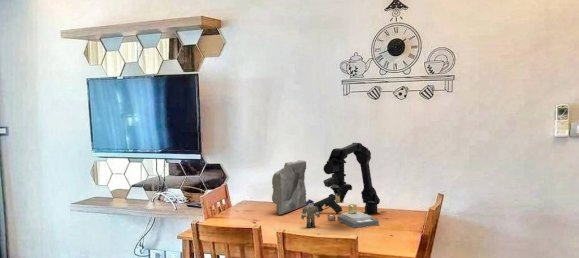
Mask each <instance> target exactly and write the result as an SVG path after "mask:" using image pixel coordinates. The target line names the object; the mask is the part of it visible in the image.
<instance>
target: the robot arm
mask: <svg viewBox="0 0 579 258" xmlns="http://www.w3.org/2000/svg"><path fill="white" fill-rule="evenodd" d="M350 154H353V155H354V156H355V158H356V162H358V164H359V165H360V170H361V172H360V173H361V177H362V184H363V185H362V186H363V189H362V191H361V193H360V194H361V199H362V203H363V204H365V205H364V212H363V213H364V214H367V215H369V216H373V215H379V214H380V213H379V212H378V205H379V204H380V202H381V199H380V197H379V196H378V193H377V191H376V189H375V187H374V186H373V182H372V175H371V170H370V161H371V160H372V152H371V150H370V149H369V148H368V147H366V146H364V145H363V144H362V143H361V142H352V143H351V144H348V145H347V146H344V147H340V148H339V147H338V148H337V147H336V148H333V149H332V150H331V152H330V155H329V157H328V160H326V163H325V164H324V165H323V171H324V173H325V174H326V175H331V177H328V178H326V179H324V180H323V181H322V182H323V185H324V186H325V188H326V187H327V188H330V189H331V190H332V191H333V194H334V195H335V194H336V193H339V196H340V202H343V200H344V199H345V198H346V195H347V194H348V192H349V191H352V190H353V185H352V184H350V183H347V181H345V177H347V174H346V173H345V164H346V163H347V161H346V159H347V158H348V156H349V155H350Z"/></svg>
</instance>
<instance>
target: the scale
mask: <svg viewBox="0 0 579 258" xmlns="http://www.w3.org/2000/svg"><path fill="white" fill-rule="evenodd" d="M340 213H341V212H340ZM336 218H337V221H338V222H341V223H342V224H345V225H347V226H349V227H351V228H352V229H358V228H367V226H368V227H374V226H375V225H376V226H380V220H378V219H376V218H374V217H373V215H368V214H366V213H364V212H362V211H358V210H357V214H349V211H348V212H342V213H341V215H337V217H336Z"/></svg>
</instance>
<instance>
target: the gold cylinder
mask: <svg viewBox="0 0 579 258" xmlns="http://www.w3.org/2000/svg"><path fill="white" fill-rule="evenodd" d="M334 195H335V202H336V203H337V204H343V203H344V202H345V201H344V200H343V202H340V196H339V193H336V194H334Z"/></svg>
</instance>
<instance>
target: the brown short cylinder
mask: <svg viewBox="0 0 579 258" xmlns="http://www.w3.org/2000/svg"><path fill="white" fill-rule="evenodd" d="M327 221H328V222H335V221H336V214H334V213H331V214H327Z"/></svg>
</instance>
